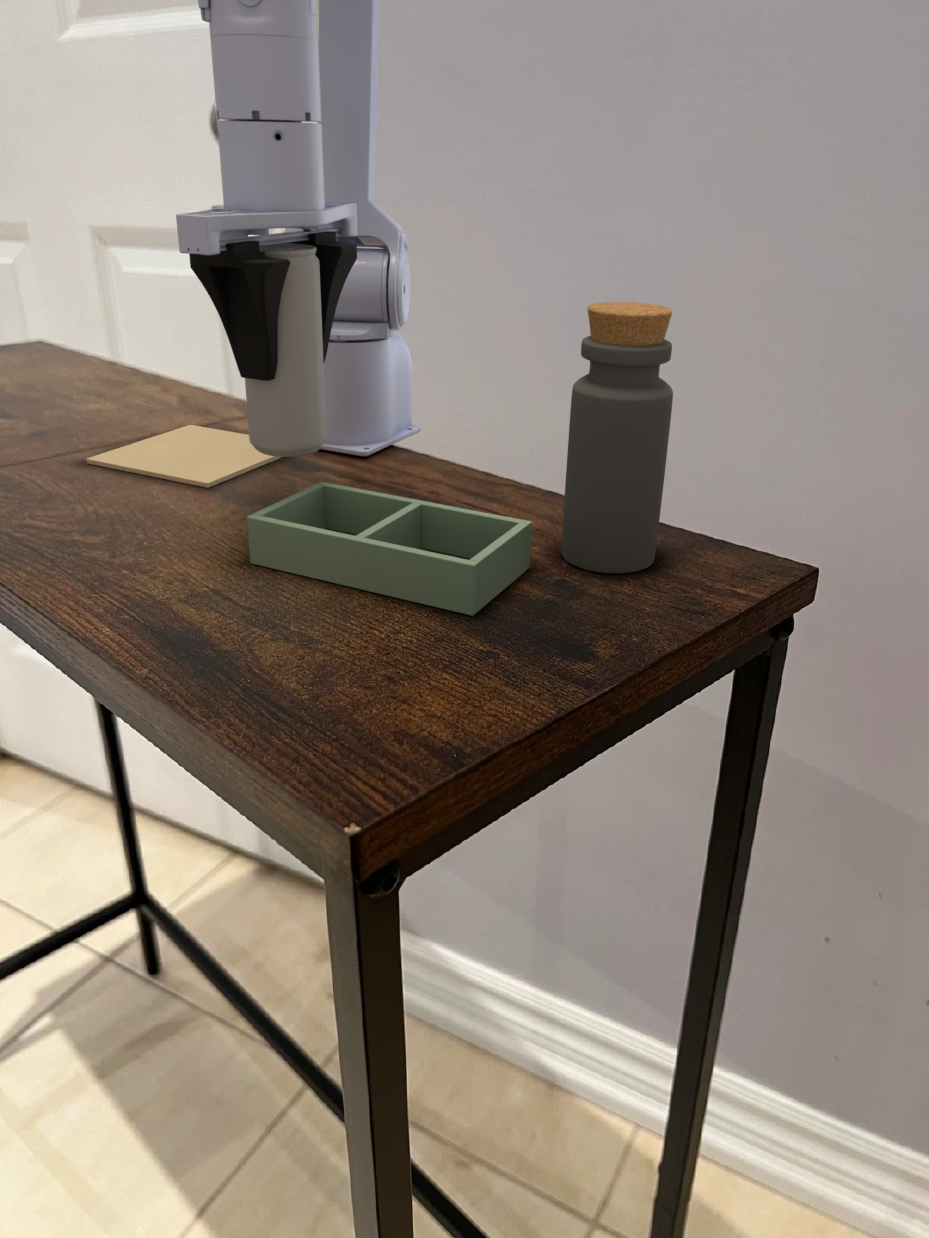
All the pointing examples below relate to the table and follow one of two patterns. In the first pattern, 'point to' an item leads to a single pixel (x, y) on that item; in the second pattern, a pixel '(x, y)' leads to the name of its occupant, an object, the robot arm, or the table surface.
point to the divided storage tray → (392, 545)
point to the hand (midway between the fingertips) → (284, 370)
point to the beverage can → (292, 365)
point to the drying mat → (187, 456)
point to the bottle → (618, 440)
